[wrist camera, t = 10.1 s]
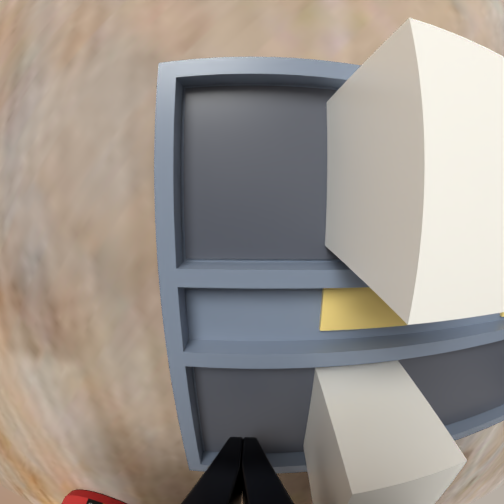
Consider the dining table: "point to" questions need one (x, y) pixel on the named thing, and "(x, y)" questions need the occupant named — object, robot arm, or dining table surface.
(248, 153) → the divided tray
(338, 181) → the cream rectangular block
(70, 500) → the canned food
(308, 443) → the white block
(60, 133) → the dining table surface
